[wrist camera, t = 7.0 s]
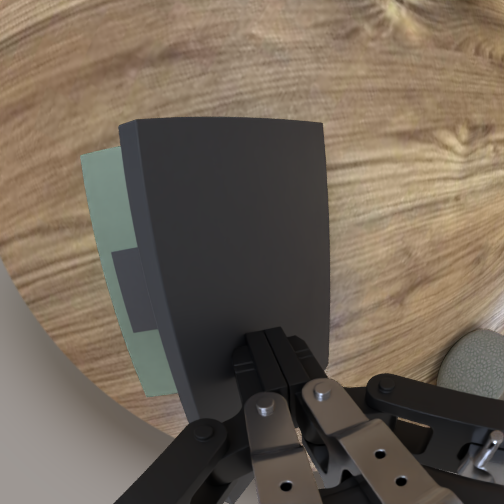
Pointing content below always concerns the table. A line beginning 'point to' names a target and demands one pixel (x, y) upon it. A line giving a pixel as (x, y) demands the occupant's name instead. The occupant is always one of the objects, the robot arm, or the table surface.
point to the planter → (475, 365)
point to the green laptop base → (125, 268)
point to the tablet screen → (229, 243)
